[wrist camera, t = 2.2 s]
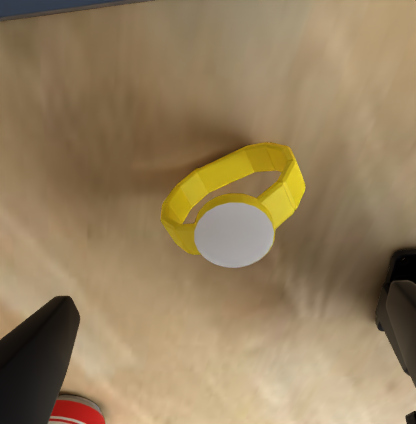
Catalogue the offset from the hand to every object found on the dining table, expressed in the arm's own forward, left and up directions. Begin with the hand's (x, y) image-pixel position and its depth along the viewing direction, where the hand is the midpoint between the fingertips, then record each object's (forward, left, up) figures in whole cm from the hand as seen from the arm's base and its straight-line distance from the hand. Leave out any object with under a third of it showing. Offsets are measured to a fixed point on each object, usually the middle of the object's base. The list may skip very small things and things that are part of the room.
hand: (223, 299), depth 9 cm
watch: (0, 0, -9) cm, 9 cm away
